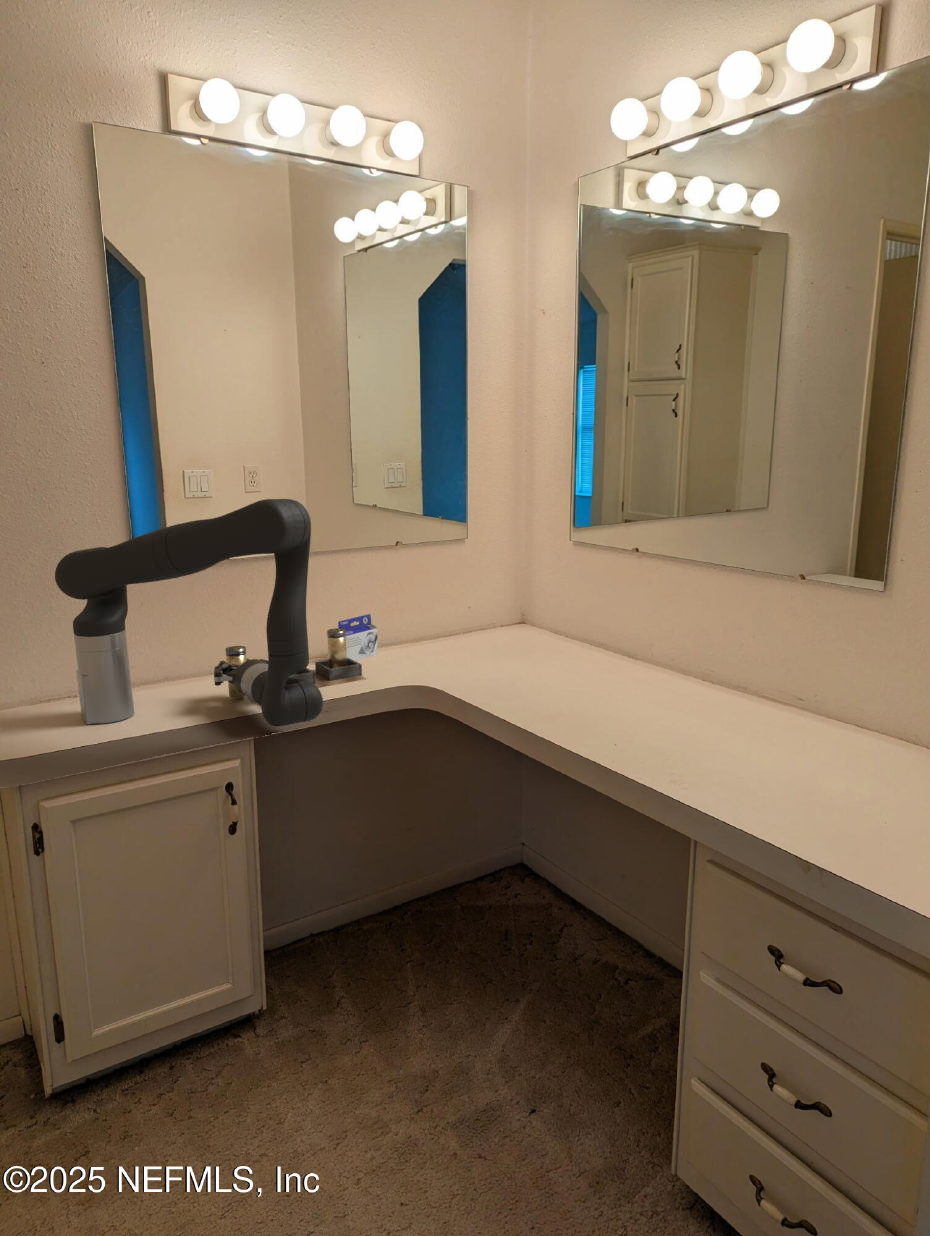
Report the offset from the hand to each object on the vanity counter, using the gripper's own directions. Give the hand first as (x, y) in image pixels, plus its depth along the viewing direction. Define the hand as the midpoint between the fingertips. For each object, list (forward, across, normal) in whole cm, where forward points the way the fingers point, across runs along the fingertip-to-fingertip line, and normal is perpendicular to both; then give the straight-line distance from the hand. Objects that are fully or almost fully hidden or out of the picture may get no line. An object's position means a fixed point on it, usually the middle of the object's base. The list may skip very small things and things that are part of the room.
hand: (232, 664), depth 178 cm
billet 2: (-3, -23, +5) cm, 23 cm away
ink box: (+7, -32, +7) cm, 34 cm away
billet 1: (-3, 0, +6) cm, 7 cm away
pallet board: (-3, -17, +7) cm, 19 cm away
